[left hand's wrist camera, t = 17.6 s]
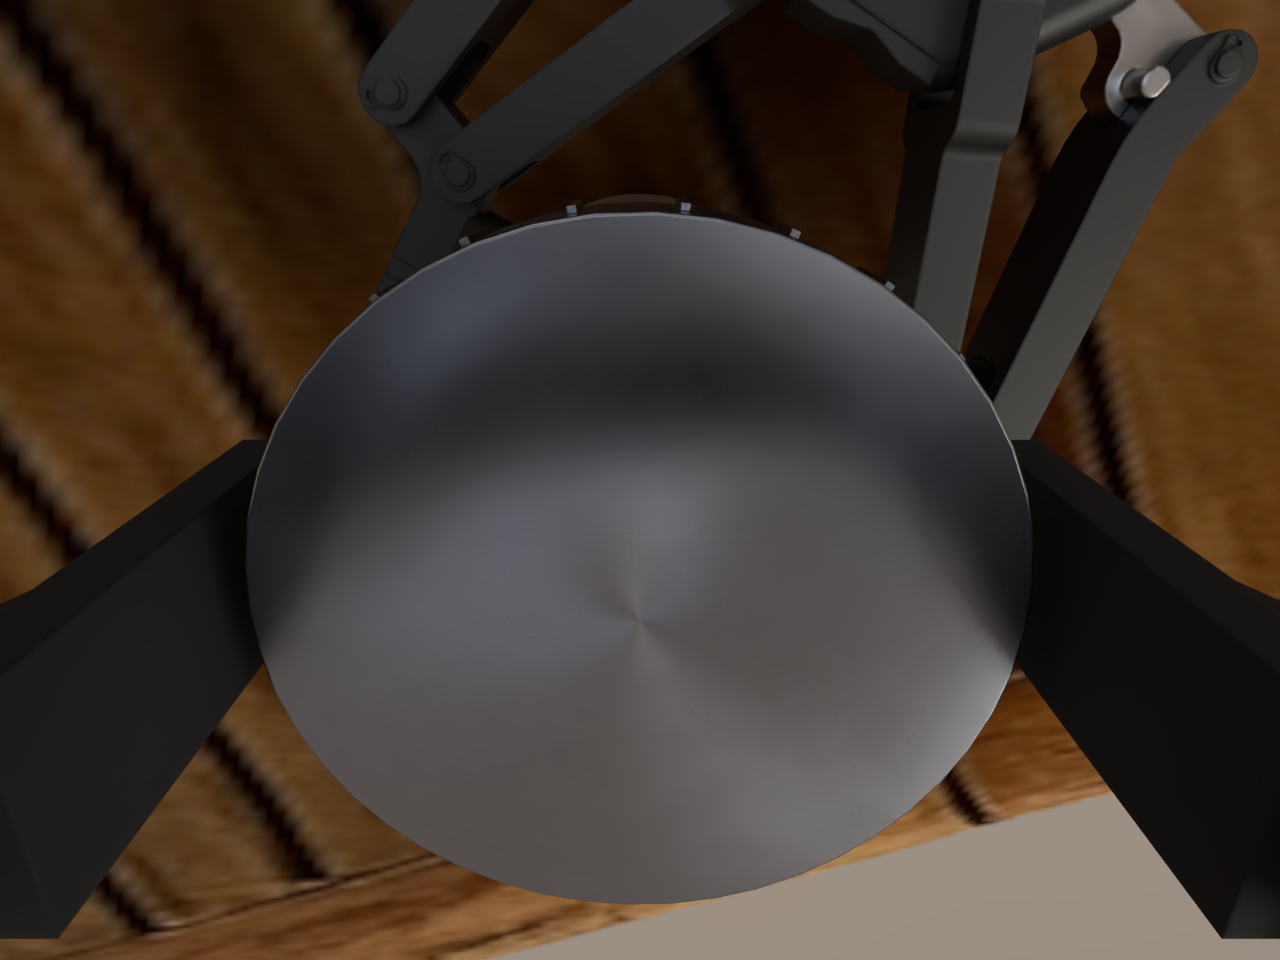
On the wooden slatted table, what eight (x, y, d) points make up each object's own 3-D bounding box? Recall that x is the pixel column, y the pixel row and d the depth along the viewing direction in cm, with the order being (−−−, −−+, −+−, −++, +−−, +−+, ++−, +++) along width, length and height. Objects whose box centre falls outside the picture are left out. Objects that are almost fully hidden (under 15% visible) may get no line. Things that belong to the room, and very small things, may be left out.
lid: (295, 771, 13) (243, 864, 12) (300, 129, 10) (225, 123, 8) (872, 845, 14) (906, 944, 12) (1081, 267, 10) (1173, 290, 9)
